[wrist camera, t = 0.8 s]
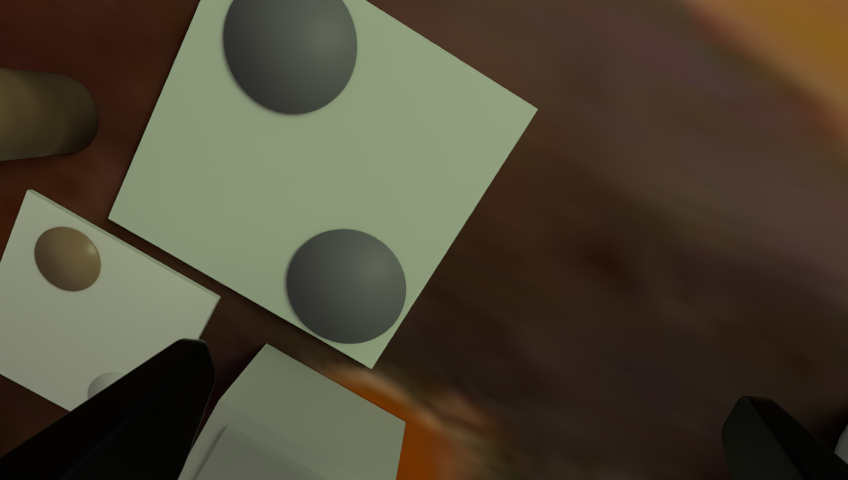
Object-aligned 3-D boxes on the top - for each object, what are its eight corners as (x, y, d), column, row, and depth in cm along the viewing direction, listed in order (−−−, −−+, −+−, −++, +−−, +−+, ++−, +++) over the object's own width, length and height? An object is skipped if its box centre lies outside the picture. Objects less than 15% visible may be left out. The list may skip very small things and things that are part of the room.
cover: (331, 529, 27) (301, 629, 22) (201, 459, 27) (138, 544, 21) (405, 422, 25) (391, 503, 20) (266, 343, 25) (214, 405, 19)
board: (373, 362, 24) (370, 371, 24) (116, 215, 23) (104, 219, 23) (535, 109, 21) (538, 109, 20) (241, -76, 20) (233, -84, 19)
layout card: (144, 445, 27) (138, 450, 26) (-29, 352, 26) (-37, 356, 26) (220, 296, 24) (216, 299, 24) (32, 189, 23) (24, 190, 23)
